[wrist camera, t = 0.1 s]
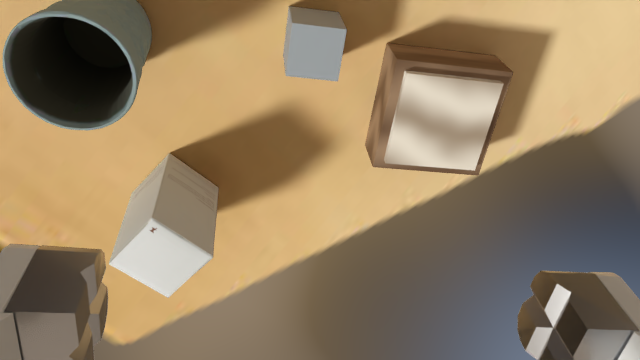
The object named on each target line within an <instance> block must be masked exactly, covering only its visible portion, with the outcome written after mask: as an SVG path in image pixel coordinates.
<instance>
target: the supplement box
mask: <svg viewBox="0 0 640 360" xmlns="http://www.w3.org/2000/svg"><path fill="white" fill-rule="evenodd" d="M218 191H219V188H218V187H217V186H216V185H214V184H213V183H211V182H210V181H209V180H207V179H206V178H204V177H203V176H202V175H200V174H199V173H197V172H196V171H194V170H193V169H192V168H190V167H189V166H187V165H186V164H185V163H183V162H182V161H180V160H179V159H178V158H176V157H175V156H173V155H172V154H170V153H169V154H168V155H167V156H166V157H165V158H164V159H163V161H162V162H161V163H160V164H159V165H158V166H157V167H156V168H155V169H154V170H153V171H152V172H151V173H150V174H149V175H148V176H147V177H146V178H145V180H144V181H143V182H142V183H141V184H140V185H139V186H138V187H137V188H136V189H135V190H134V191H133V192H132V194H131V197H130V200H129V203H128V206H127V210H126V213H125V216H124V219H123V222H122V225H121V228H120V231H119V234H118V237H117V240H116V243H115V246H114V250H113V253H112V256H111V259H110V262H109V264H110V265H111V266H113V267H115V268H117V269H119V270H120V271H122V272H124V273H126V274H127V275H129V276H131V277H133V278H134V279H136V280H138V281H140V282H141V283H143V284H145V285H147V286H148V287H150V288H152V289H154V290H155V291H157V292H159V293H161V294H162V295H164V296H166V297H168V298H169V297H170V296H171V295H172V294H173V293H174V292H175V291H176V290H177V289H178V288H180V287H181V286H182V285H183V284H184V283H185V282H186V281H187V280H188V279H189V278H190V277H192V276H193V275H194V274H195V273H196V272H197V271H198V270H200V269H201V268H202V267H203V266H204V265H205V264H206V263H208V262H209V261H210V260H211V259H212V258H213V250H214V238H215V227H216V216H217V205H218Z"/></svg>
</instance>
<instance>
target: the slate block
mask: <svg viewBox="0 0 640 360" xmlns="http://www.w3.org/2000/svg"><path fill="white" fill-rule="evenodd" d="M346 31H347V29H346V27H345V25H344V22H343V20H342V18H341V16H340V14H339V12H333V11H325V10H317V9H309V8H301V7H293V6H289V10H288V18H287V27H286V36H285V44H284V53H283V57H284V65H285V74H286V76H292V77H301V78H311V79H321V80H330V81H338V78H339V72H340V66H341V60H342V55H343V49H344V43H345V37H346Z"/></svg>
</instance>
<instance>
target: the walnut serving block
mask: <svg viewBox="0 0 640 360" xmlns="http://www.w3.org/2000/svg"><path fill="white" fill-rule="evenodd" d="M512 75H513V72H512V71H511V70H510V69H509V68H508V67H507V66H506V65H505V64H504V63H503V62H501V61H500V60H499V59H498V58H497V57H496V56H494V55H486V54H477V53H468V52H460V51H451V50H443V49H434V48H426V47H417V46H409V45H400V44H391V43H387V44H386V49H385V54H384V58H383V63H382V68H381V73H380V77H379V82H378V87H377V92H376V96H375V101H374V106H373V110H372V115H371V120H370V125H369V129H368V134H367V139H366V143H365V146H366V149H367V152H368V154H369V157H370V160H371V163H372V166H373V167H380V168H392V169H405V170H417V171H430V172H442V173H455V174H467V175H479V172H480V169H481V166H482V163H483V160H484V157H485V154H486V151H487V148H488V145H489V142H490V140H491V137H492V134H493V131H494V128H495V125H496V122H497V119H498V116H499V113H500V110H501V107H502V104H503V101H504V98H505V95H506V92H507V89H508V87H509V84H510V81H511V78H512Z"/></svg>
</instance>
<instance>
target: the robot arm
mask: <svg viewBox="0 0 640 360" xmlns="http://www.w3.org/2000/svg"><path fill="white" fill-rule="evenodd" d="M105 269H106V264H105V255H104V252H103V251H102V250H101V249H87V248H72V247H58V246H43V245H42V246H38V245H22V244H9V245H8V246H6V247H5V248H4V249H3V250H2V251H1V253H0V360H94V350H93V347H94V346H95V345H96V344H97V343H99V342H100V341H101V339H102V335H103V332H104V328H105V323H106V316H107V308H108V291H107V287H106V286H105V285H104V284H103V283H102V282H101V281H102V278H103V275H104V272H105ZM530 287H531V289H532V292H533V294H534V295H533V296H532V297H530V298H529V299H528V300H526V301H525V302H524V303H523V304H522V306H521V309H520V312H519V314H518V328H517V329H518V334H519V338H520V341H521V343H522V345H523V347H524V349H525V351H526V352H528V353H529V354H530V355H532V356H533V357H534V358H535V359H537V360H640V300H639V299H638V297H637V296H636V295H635V294H634V293H633V291H632V290H631V289H630V288H629V287H628V286H627V284H626V283H625V282H624V281H623V279H622V278H621V277H619V276H618V275H616V274H614V273H608V272H588V273H584V272H559V271H540V272H539V273H538V274H537V275H536V276H535V277H534V279H533V281H532V283H531V286H530Z"/></svg>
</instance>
